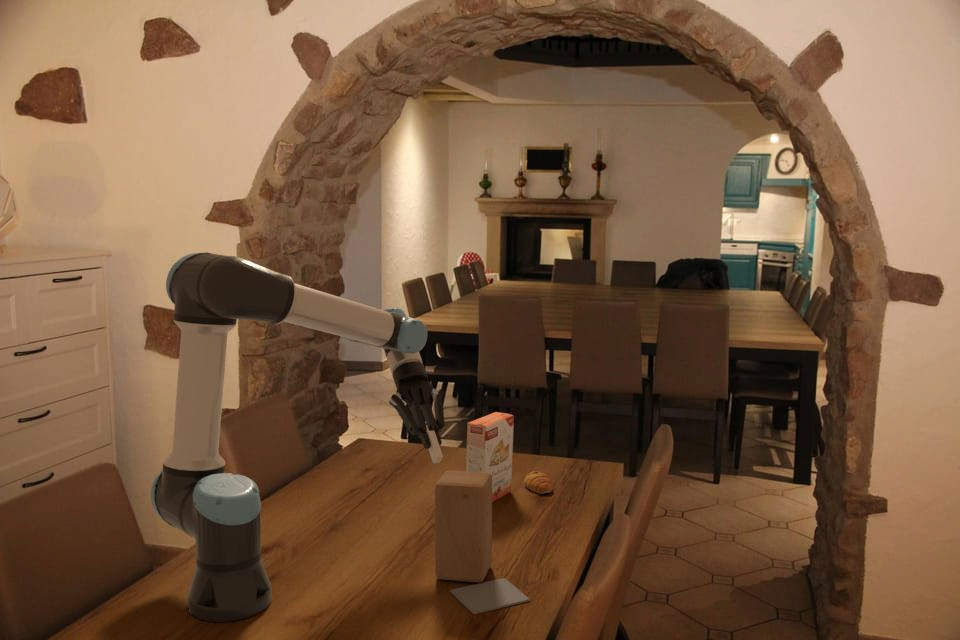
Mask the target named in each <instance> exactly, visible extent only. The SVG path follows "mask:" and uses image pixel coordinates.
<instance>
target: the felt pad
mask: <svg viewBox="0 0 960 640" xmlns="http://www.w3.org/2000/svg"><path fill="white" fill-rule="evenodd" d="M449 592H450V593H451V594H452V595H453V596H454V597H455V598H456V599H457V600H458V602H459V603H461V604H462V605H463V606H464V607H465V608H466V609H467V610H469V612H470V613H471V614H472V615H477V614H481V613H482V614H483V613H487V612H489V611H494V610H500V609H502V608H506V607H511V606H515V605H518V604H520V605H521V604H523V603H528V602H530V601H531V599H530V598H529V597H528V596H527V595H525V594H524V593H523V592H522V591H521V590H520V589H518V587H516V586H515V585H514V584H512V583H511V582H510V581H509V580H508V579H506V578H505V577H503V578H497V579H492V580H488V581H483V582H478V583H476V584H475V583H474V584H470V585H466V586H461V587H457V588H454V589H453V588H452V589H450V591H449Z"/></svg>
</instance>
